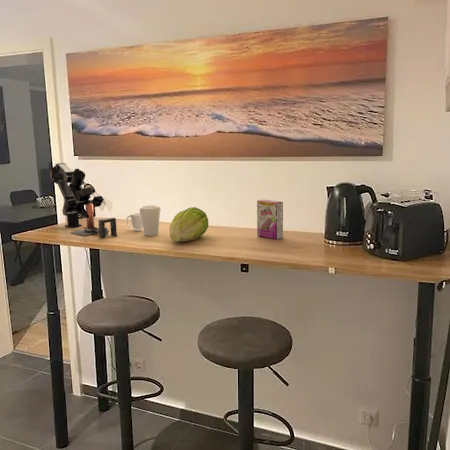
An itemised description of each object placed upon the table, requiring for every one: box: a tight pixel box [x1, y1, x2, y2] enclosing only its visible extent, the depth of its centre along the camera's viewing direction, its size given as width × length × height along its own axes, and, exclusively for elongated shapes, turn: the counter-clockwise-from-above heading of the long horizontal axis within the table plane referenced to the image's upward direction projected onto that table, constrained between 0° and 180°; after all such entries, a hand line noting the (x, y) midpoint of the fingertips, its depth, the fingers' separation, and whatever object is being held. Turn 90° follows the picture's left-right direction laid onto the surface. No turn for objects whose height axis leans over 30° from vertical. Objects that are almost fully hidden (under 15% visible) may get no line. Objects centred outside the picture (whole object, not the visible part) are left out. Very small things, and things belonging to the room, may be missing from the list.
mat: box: [70, 229, 110, 237], centre depth 236 cm, size 12×14×1 cm
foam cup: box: [139, 204, 161, 237], centre depth 226 cm, size 10×9×13 cm
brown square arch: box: [97, 217, 118, 239], centre depth 223 cm, size 2×8×8 cm, turn 135°
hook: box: [83, 203, 109, 237], centre depth 230 cm, size 17×6×13 cm, turn 45°
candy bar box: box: [256, 198, 284, 241], centre depth 214 cm, size 11×5×16 cm, turn 47°
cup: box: [126, 212, 144, 232], centre depth 237 cm, size 7×10×8 cm
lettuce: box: [169, 206, 209, 242], centre depth 213 cm, size 14×24×15 cm
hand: (91, 217), depth 232 cm, fingers closed on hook, 3 cm apart
